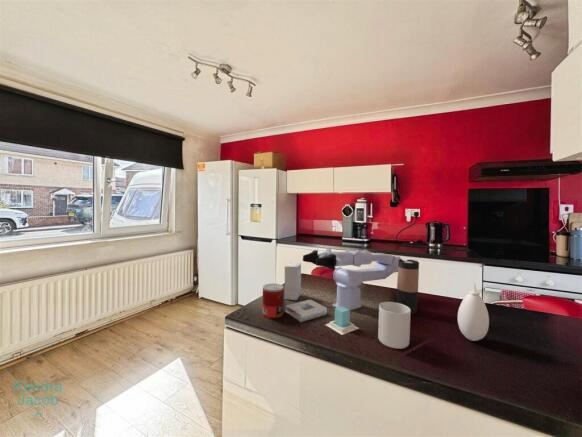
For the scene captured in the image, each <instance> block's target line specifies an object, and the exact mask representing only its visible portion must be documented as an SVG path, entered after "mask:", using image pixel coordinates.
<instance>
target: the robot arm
mask: <svg viewBox="0 0 582 437" xmlns="http://www.w3.org/2000/svg"><path fill="white" fill-rule="evenodd" d="M400 259H402V258H401V257H400V256H395V255H391V254H387V253H381V252H376V253H372V252H370V251H369V250H368V249H363V250H358V249H356V250H355V251H354V250H350V249H346V250H345V251H332V249H330V248H326V251H324V252H321V253H319V250H316V249H314V250H313V251H311V252H309V253H307V254H305V255H302V262H305V263H311V264H312V265H316V266H317V267H322V268H327V269H329V270H331V271H333V275H332V276H333V277H332V278H333V280H334V281H335V285H336V302H335V303H332V306H333V307H336V308H338V307H342V306H343V307H345V308H347V309H349V310H350V311H352V310H355V309H359V308H362V306H363V305H361V296H362V295H361V289H360V288H361V287H360V285H362V283H363V282H371V281H379V280H380V281H381V280H385V279H387V278H389V277H390V276H391V275H393V274H394V273H398V261H399V260H400ZM373 262H376V263H375V266H374V268H364V269H363V268H362V269H349V268H343V267H346V266H353V267H358V268H359V267H361V266H362V265H365V266H367V265H371V264H372V263H373ZM336 267H337V268H336Z"/></svg>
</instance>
